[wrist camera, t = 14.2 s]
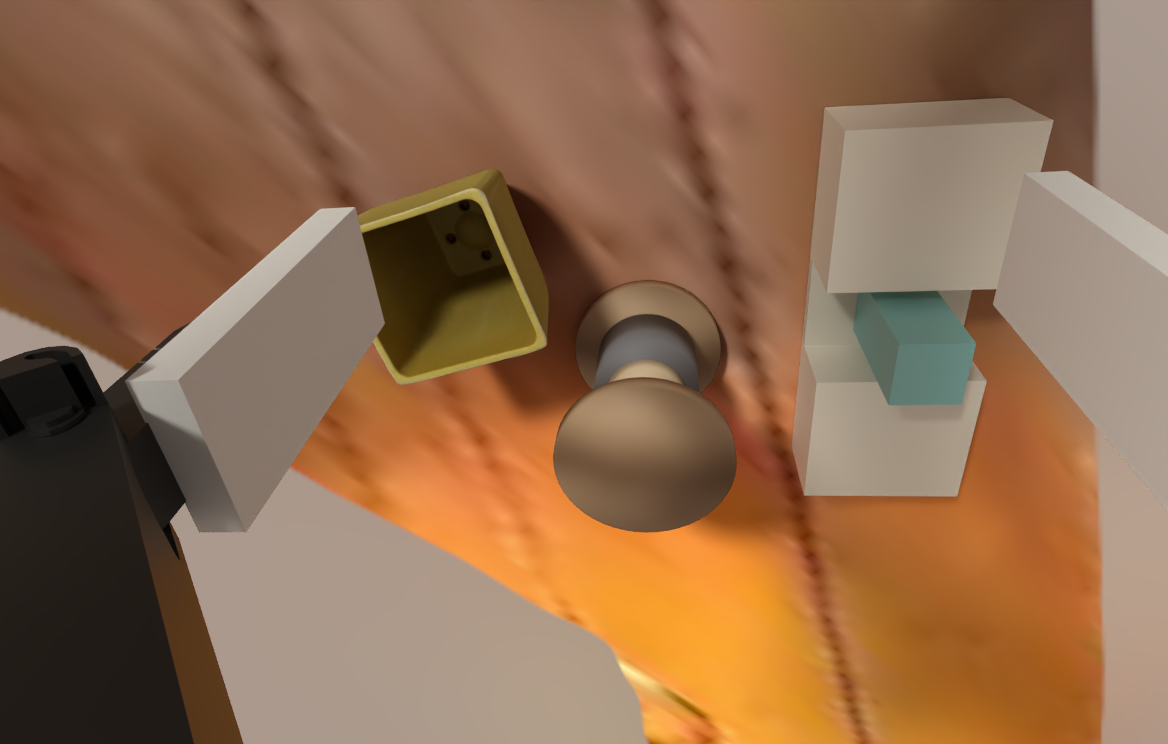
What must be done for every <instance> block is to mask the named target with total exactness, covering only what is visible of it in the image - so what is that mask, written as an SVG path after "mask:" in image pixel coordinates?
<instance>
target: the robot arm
mask: <svg viewBox="0 0 1168 744" xmlns="http://www.w3.org/2000/svg"><path fill="white" fill-rule="evenodd" d="M993 305H994V307H995V308H996V309H997V310H998V311H999V313H1000V314H1001V315H1002V316H1003V317H1004V318H1005V320H1006V321H1007V322H1008V323H1009V324H1010V326H1011V327H1012V328H1013V329H1014V330H1015V332H1016V333H1017V334H1018V335H1019V336H1020V337H1021V339H1022V340H1023V341H1024V342H1025V343H1026V345H1027V346H1028V347H1029V348H1030V349H1031V351H1032V352H1033V353H1034V354H1035V355H1036V356H1037V358H1038V359H1039V360H1040V361H1041V362H1042V364H1043V365H1044V366H1045V367H1046V368H1047V369H1048V371H1049V372H1050V373H1051V374H1052V375H1053V377H1054V378H1055V379H1056V380H1057V381H1058V383H1059V384H1060V385H1061V386H1062V387H1063V388H1064V390H1065V391H1066V392H1067V393H1068V394H1069V396H1070V397H1071V398H1072V399H1073V400H1074V402H1075V403H1076V404H1077V405H1078V406H1079V407H1080V409H1081V410H1082V411H1083V412H1084V413H1085V415H1086V416H1087V417H1088V418H1089V419H1090V420H1091V422H1092V423H1093V424H1094V425H1095V426H1096V428H1097V429H1098V430H1099V431H1100V432H1101V434H1102V435H1103V436H1104V437H1105V438H1106V439H1107V441H1108V442H1109V443H1110V444H1111V445H1112V447H1113V448H1114V449H1115V450H1116V451H1117V452H1118V454H1119V455H1120V456H1121V457H1122V458H1123V460H1124V461H1125V462H1126V463H1127V464H1128V466H1129V467H1130V468H1131V469H1132V470H1133V471H1134V473H1135V474H1136V475H1137V476H1138V477H1139V479H1140V480H1141V481H1142V482H1143V483H1144V485H1145V486H1146V487H1147V488H1148V489H1149V490H1150V492H1151V493H1152V494H1153V495H1154V496H1155V498H1156V499H1157V500H1158V501H1159V502H1160V503H1161V505H1162V506H1163V507H1164V508H1165V509H1166V511H1167V512H1168V234H1166V233H1165V232H1163V231H1162V230H1160V229H1158V228H1157V227H1155V226H1154V225H1152V224H1151V223H1149V222H1147V221H1146V220H1144V219H1143V218H1141V217H1140V216H1138V215H1137V214H1135V213H1133V212H1132V211H1130V210H1128V209H1127V208H1126V207H1124V206H1122V205H1121V204H1119V203H1118V202H1116V201H1114V200H1113V199H1111V198H1110V197H1108V196H1107V195H1105V194H1104V193H1102V192H1101V191H1099V190H1097V189H1096V188H1094V187H1093V186H1091V185H1090V184H1088V183H1086V182H1085V181H1083V180H1082V179H1080V178H1079V177H1077V176H1076V175H1074V174H1072V173H1071V172H1069V171H1054V172H1035V173H1024V177H1023V181H1022V185H1021V189H1020V193H1019V198H1018V202H1017V206H1016V210H1015V214H1014V218H1013V222H1012V227H1011V231H1010V235H1009V239H1008V243H1007V247H1006V252H1005V256H1004V260H1003V264H1002V268H1001V272H1000V277H999V281H998V285H997V289H996V293H995V297H994V301H993ZM384 324H385V322H384V318H383V314H382V310H381V306H380V303H379V299H378V295H377V291H376V287H375V283H374V279H373V275H372V271H371V267H370V264H369V260H368V256H367V252H366V248H365V244H364V240H363V236H362V232H361V228H360V225H359V221H358V217H357V213H356V209H355V207H349V208H329V209H320V210H318V211H317V212H316V213H315V214H314V215H313V216H312V217H310V218H309V219H308V220H307V221H306V222H305V223H304V224H303V225H301V226H300V227H299V228H298V229H297V230H296V231H295V232H293V233H292V234H291V235H290V236H289V237H288V238H287V239H285V240H284V241H283V242H282V243H281V244H280V245H279V246H278V247H276V248H275V249H274V250H273V251H272V252H271V253H270V254H268V255H267V256H266V257H265V258H264V259H263V260H262V261H261V262H259V263H258V264H257V265H256V266H255V267H254V268H253V269H251V270H250V271H249V272H248V273H247V274H246V275H245V276H243V277H242V278H241V279H240V280H239V281H238V282H237V283H236V284H234V285H233V286H232V287H231V288H230V289H229V290H228V291H226V292H225V293H224V294H223V295H222V296H221V297H220V298H219V299H217V300H216V301H215V302H214V303H213V304H212V305H211V306H209V307H208V308H207V309H206V310H205V311H204V312H203V313H201V314H200V315H199V316H198V317H197V318H196V319H195V320H194V321H192V322H190V323H188V324H186V325H185V326H183V327H181V328H179V329H177V330H175V331H174V332H173V333H172V334H170V335H169V336H168V337H167V338H166V339H165V340H164V341H162V342H161V343H160V344H159V345H158V346H157V347H156V348H157V349H156V350H152V351H151V352H150V353H149V354H147V355H146V356H145V357H144V358H143V359H142V360H141V363H137V364H136V365H135V366H134V367H132V368H131V369H130V370H129V371H128V372H127V373H125V374H124V375H123V376H122V377H121V378H120V379H119V380H117V381H116V382H115V383H114V384H113V385H112V386H111V387H110V388H108V389H107V390H106V391H105V392H104V393H103V392H102V390H101V388H100V386H99V384H98V382H97V380H96V378H95V376H94V374H93V372H92V370H91V369H90V367H89V365H88V363H87V361H86V359H85V357H84V355H83V353H82V352H81V351H80V350H79V349H78V348H75V347H69V346H56V347H46V348H41V349H37V350H33V351H28V352H24V353H22V354H19V355H16V356H13V357H11V358H8V359H5V360H3V361H1V362H0V744H243V741H242V738H241V735H240V732H239V728H238V725H237V722H236V719H235V716H234V712H233V709H232V706H231V703H230V700H229V697H228V693H227V690H226V687H225V684H224V681H223V678H222V675H221V671H220V668H219V665H218V662H217V659H216V655H215V652H214V649H213V646H212V643H211V639H210V636H209V633H208V630H207V627H206V623H205V620H204V617H203V614H202V611H201V608H200V605H199V602H198V598H197V595H196V592H195V589H194V586H193V582H192V579H191V576H190V573H189V570H188V567H187V563H186V560H185V557H184V554H183V551H182V547H181V544H180V541H179V538H178V536H177V534H176V532H175V531H174V529H173V527H172V525H171V523H170V520H171V519H172V518H173V517H174V515H175V514H176V513H177V512H178V510H179V509H180V508H181V507H182V505H183V504H184V503H185V504H186V506H187V508H188V510H189V512H190V514H191V516H192V518H193V521H194V523H195V525H196V527H197V529H198V531H199V532H247V530H248V529H249V527H250V526H251V524H252V523H253V521H254V520H255V518H256V516H257V515H258V514H259V512H260V510H261V509H262V508H263V506H264V505H265V503H266V502H267V500H268V499H269V497H270V495H271V494H272V493H273V491H274V489H275V488H276V487H277V485H278V484H279V482H280V481H281V479H282V477H283V476H284V474H285V473H286V472H287V470H288V469H289V467H290V466H291V464H292V463H293V461H294V460H295V458H296V457H297V455H298V454H299V452H300V451H301V449H302V448H303V446H304V445H305V443H306V442H307V440H308V438H309V437H310V435H311V434H312V432H313V431H314V429H315V428H316V426H317V425H318V423H319V422H320V420H321V419H322V417H323V416H324V414H325V413H326V411H327V410H328V408H329V407H330V405H331V404H332V402H333V401H334V399H335V398H336V396H337V395H338V393H339V392H340V390H341V389H342V387H343V386H344V384H345V383H346V381H347V380H348V378H349V377H350V375H351V374H352V372H353V371H354V369H355V368H356V366H357V365H358V363H359V362H360V360H361V359H362V357H363V356H364V354H365V353H366V351H367V350H368V348H369V347H370V345H371V344H372V342H373V341H374V339H375V338H376V336H377V335H378V333H379V332H380V330H381V329H382V327H383V326H384Z"/></svg>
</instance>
